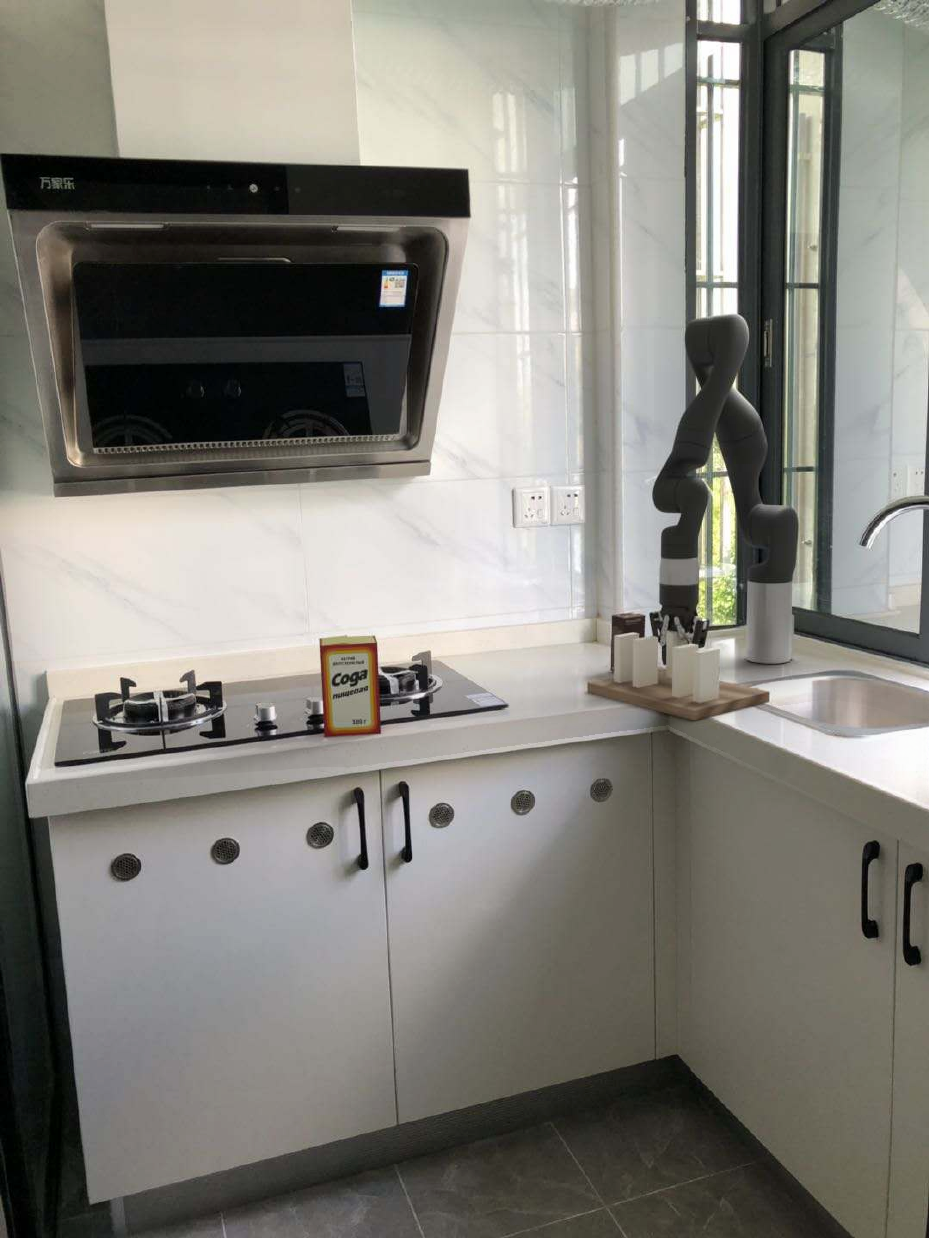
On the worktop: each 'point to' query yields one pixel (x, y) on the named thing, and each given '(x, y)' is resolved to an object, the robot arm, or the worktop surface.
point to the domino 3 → (671, 641)
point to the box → (626, 628)
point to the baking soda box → (350, 685)
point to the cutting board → (684, 706)
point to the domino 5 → (706, 675)
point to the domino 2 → (645, 661)
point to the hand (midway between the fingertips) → (678, 666)
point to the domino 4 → (683, 670)
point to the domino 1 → (624, 657)
